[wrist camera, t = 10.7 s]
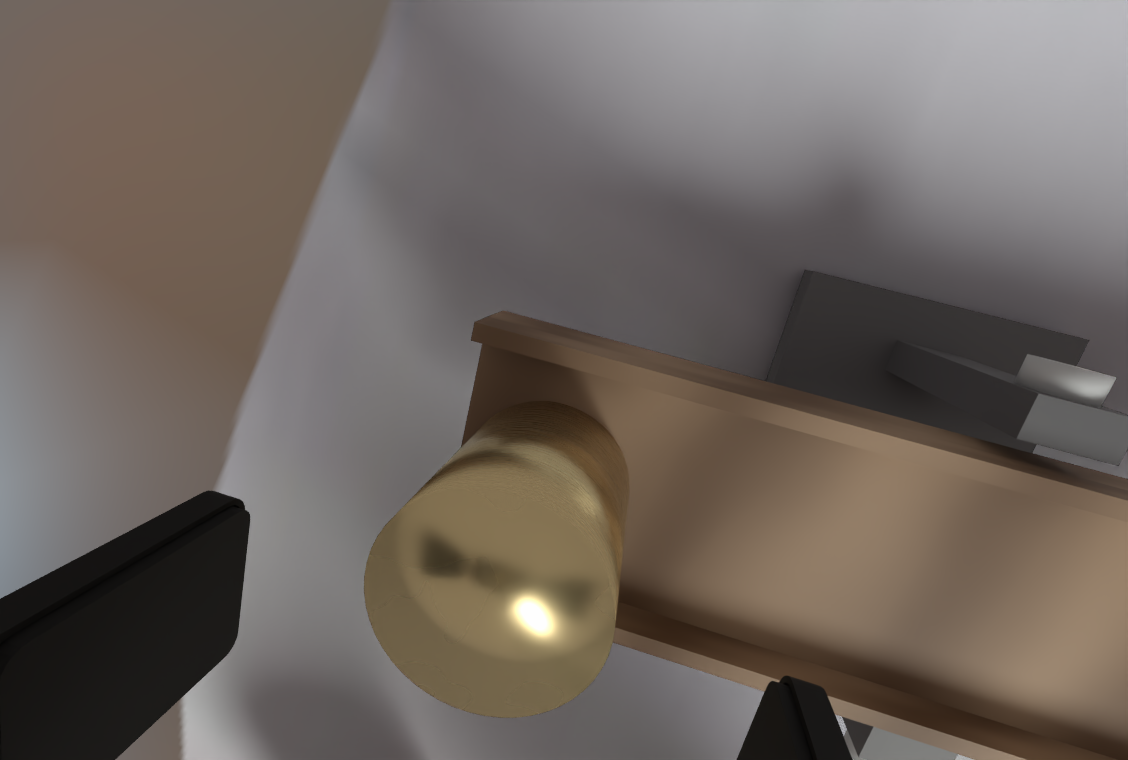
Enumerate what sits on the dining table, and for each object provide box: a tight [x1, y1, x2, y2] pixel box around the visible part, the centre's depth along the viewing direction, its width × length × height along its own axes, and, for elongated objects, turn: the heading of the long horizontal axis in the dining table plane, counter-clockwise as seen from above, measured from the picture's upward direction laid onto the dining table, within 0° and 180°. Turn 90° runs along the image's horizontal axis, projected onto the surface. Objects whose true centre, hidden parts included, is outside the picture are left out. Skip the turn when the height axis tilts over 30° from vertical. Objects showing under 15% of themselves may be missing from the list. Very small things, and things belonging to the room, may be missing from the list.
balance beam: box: [461, 311, 1128, 760], centre depth 15 cm, size 30×8×4 cm, turn 76°
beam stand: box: [766, 270, 1128, 760], centre depth 19 cm, size 10×15×9 cm, turn 166°
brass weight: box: [364, 401, 630, 718], centre depth 14 cm, size 5×5×6 cm
